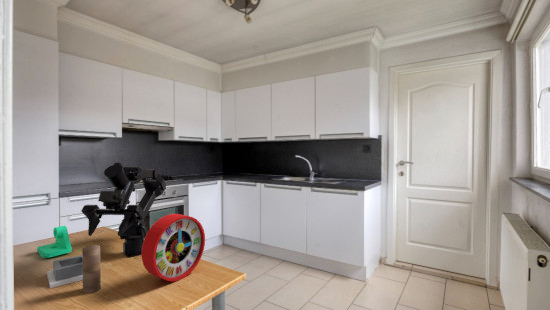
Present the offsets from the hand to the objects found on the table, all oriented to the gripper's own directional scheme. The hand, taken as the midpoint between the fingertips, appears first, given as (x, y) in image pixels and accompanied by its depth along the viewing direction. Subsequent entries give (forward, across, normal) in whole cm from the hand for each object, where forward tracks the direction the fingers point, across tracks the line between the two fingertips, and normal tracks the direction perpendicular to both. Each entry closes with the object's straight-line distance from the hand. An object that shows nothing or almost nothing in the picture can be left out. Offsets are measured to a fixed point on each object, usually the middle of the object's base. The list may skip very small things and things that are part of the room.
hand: (104, 235), depth 91 cm
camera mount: (-4, -31, +24) cm, 40 cm away
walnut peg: (+15, +1, +4) cm, 16 cm away
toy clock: (+10, +23, +10) cm, 26 cm away
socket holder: (+9, -11, +10) cm, 18 cm away
